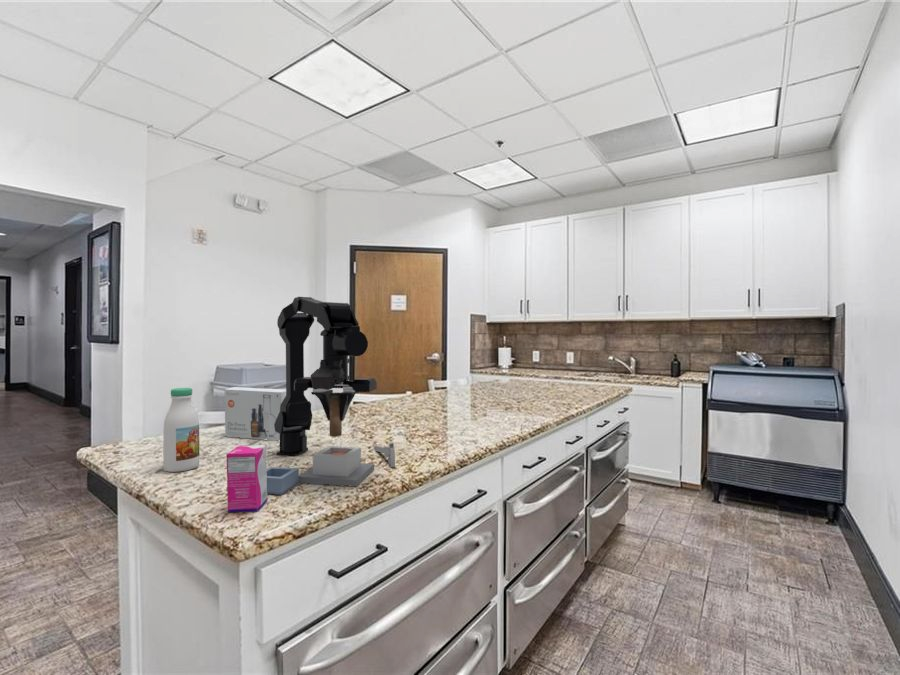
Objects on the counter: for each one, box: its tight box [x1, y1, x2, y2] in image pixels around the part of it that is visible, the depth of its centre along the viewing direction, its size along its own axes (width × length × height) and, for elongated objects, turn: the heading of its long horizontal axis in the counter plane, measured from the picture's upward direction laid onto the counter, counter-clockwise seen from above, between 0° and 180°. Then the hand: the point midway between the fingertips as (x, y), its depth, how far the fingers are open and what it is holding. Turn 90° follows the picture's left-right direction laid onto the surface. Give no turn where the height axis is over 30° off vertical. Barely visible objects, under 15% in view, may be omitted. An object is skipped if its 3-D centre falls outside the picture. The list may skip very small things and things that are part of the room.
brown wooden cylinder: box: [329, 392, 343, 438], centre depth 104 cm, size 3×3×10 cm
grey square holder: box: [299, 445, 375, 487], centre depth 104 cm, size 14×12×6 cm
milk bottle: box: [162, 387, 200, 473], centre depth 109 cm, size 8×8×20 cm
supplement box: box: [226, 444, 268, 513], centre depth 86 cm, size 6×6×12 cm
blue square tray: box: [266, 466, 300, 496], centre depth 96 cm, size 7×7×4 cm
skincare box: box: [224, 386, 286, 441], centre depth 141 cm, size 21×5×16 cm, turn 77°
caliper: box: [373, 442, 396, 468], centre depth 120 cm, size 20×1×6 cm, turn 23°
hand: (335, 420), depth 104 cm, fingers closed on brown wooden cylinder, 3 cm apart
